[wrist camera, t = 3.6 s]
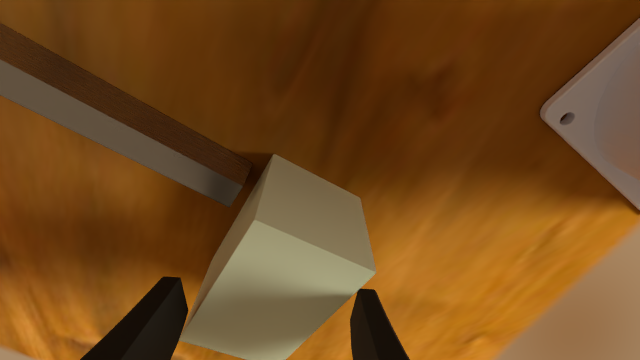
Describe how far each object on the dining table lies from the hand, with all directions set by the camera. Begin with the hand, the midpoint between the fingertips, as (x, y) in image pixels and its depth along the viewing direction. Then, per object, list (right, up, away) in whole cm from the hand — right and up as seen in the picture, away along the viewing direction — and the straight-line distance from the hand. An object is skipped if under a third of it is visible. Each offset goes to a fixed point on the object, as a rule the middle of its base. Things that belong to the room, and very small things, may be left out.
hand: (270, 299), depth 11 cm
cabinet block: (0, +2, +3) cm, 4 cm away
